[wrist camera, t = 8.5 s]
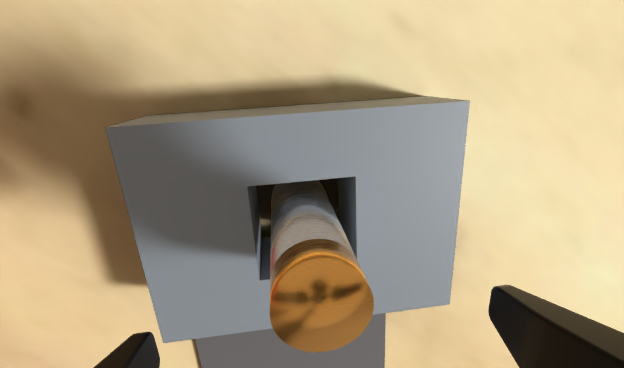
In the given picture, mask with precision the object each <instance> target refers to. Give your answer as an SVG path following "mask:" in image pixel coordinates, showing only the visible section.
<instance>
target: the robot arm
mask: <svg viewBox="0 0 624 368" xmlns="http://www.w3.org/2000/svg"><path fill="white" fill-rule="evenodd" d="M489 316H490V319H491V321H492V323H493V324H494V326H495V328H496V329H497V331H498V333H499V334H500V336H501V338H502V339H503V341H504V343H505V344H506V346H507V348H508V350H509V351H510V353H511V355H512V356H513V358H514V360H515V361H516V363H517V365H518V366H519V368H624V333H622V332H620V331H617V330H615V329H613V328H610V327H608V326H606V325H603V324H601V323H598V322H596V321H594V320H591V319H589V318H587V317H584V316H582V315H579V314H577V313H575V312H572V311H570V310H568V309H565V308H563V307H561V306H558V305H556V304H553V303H551V302H549V301H546V300H544V299H542V298H539V297H537V296H534V295H532V294H530V293H527V292H525V291H523V290H520V289H518V288H515V287H513V286H511V285H501V286H495V287H493V289H492V291H491V298H490V304H489ZM159 365H160V357H159V353H158V349H157V346H156V342H155V339H154V336H153V334H152V333H151V332H143V333H136V334H133V335H132V336H130V337H129V338H128V339H127V340H125V341H124V342H123V343H122V344H121V345H120V346H118V347H117V348H116V349H115V350H114V351H113V352H111V353H110V354H109V355H108V356H107V357H105V358H104V359H103V360H102V361H101V362H100V363H98V364H97V365H96V366H95V367H94V368H159Z"/></svg>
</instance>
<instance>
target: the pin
mask: <svg viewBox="0 0 624 368" xmlns="http://www.w3.org/2000/svg"><path fill="white" fill-rule="evenodd" d="M373 310H374V298H373V294H372V291H371V289H370V287H369V284H368V282H367V280H366V278H365V276H364V274H363V272H362V269H361V267H360V265H359V263H358V261H357V259H356V256H355V254H354V252H353V250H352V248H351V246H350V244H349V241H348V239H347V237H346V235H345V233H344V231H343V228H342V226H341V224H340V222H339V220H338V218H337V216H336V213H335V211H334V209H333V207H332V205H331V203H330V201H329V198H328V196H327V194H326V192H325V190H324V188H323V186H322V184H321V183H320V181H319V180H312V181H301V182H290V183H280V184H276V185H275V187H274V189H273V192H272V203H271V261H270V321H271V325H272V327H273V329H274V331H275V333H276V334H277V336H278V337H279V338H280V339H281V340H282V341H283V342H285V343H286V344H288V345H289V346H291V347H293V348H295V349H298V350H301V351H306V352H327V351H332V350H335V349H338V348H341V347H343V346H345V345H347V344H349V343H350V342H352V341H353V340H355V339H356V338H357V337H358V336H359V335H360V334H361V333H362V332H363V331H364V330H365V328H366V327H367V326H368V324H369V322H370V320H371V317H372V315H373Z"/></svg>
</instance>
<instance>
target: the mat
mask: <svg viewBox="0 0 624 368" xmlns="http://www.w3.org/2000/svg"><path fill="white" fill-rule="evenodd" d="M195 340H196V345H197V349H198V354H199V358H200V362H201V367H202V368H384V362H385V313H382V314H375V315H372V317H371V320H370V322H369V324H368V326H367V327H366V328H365V330H364V331H363V332H362V333H361V334H360V335H359V336H358V337H357V338H356V339H355V340H353V341H352V342H350V343H349V344H347V345H345V346H343V347H341V348H338V349H335V350H332V351H327V352H306V351H301V350H298V349H295V348H293V347H291V346H289V345H288V344H286V343H285V342H283V341H282V340H281V339H280V338H279V337H278V336H277V334H276V333H275V331H274V329H273V328H271V329H264V330H257V331H249V332H242V333H235V334H227V335H220V336H213V337H205V338H198V339H195Z"/></svg>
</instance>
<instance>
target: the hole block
mask: <svg viewBox="0 0 624 368" xmlns="http://www.w3.org/2000/svg"><path fill="white" fill-rule="evenodd" d="M469 103H470V101H467V100H457V99H448V98H438V97H428V96H419V97H405V98H391V99H376V100H362V101H348V102H334V103H320V104H306V105H291V106H277V107H263V108H249V109H235V110H221V111H206V112H192V113H178V114H164V115H150V116H144V117H140V118H137V119H133V120H130V121H126V122H123V123H119V124H115V125H112V126H108V127H105V129H106V133H107V137H108V140H109V144H110V148H111V151H112V155H113V159H114V163H115V166H116V170H117V174H118V177H119V181H120V185H121V188H122V192H123V196H124V200H125V203H126V207H127V211H128V214H129V218H130V222H131V225H132V229H133V233H134V237H135V240H136V244H137V248H138V251H139V255H140V259H141V262H142V266H143V270H144V273H145V277H146V281H147V285H148V288H149V292H150V296H151V299H152V303H153V307H154V310H155V314H156V318H157V322H158V325H159V329H160V333H161V336H162V340H163V343H168V342H176V341H183V340H190V339H198V338H205V337H213V336H220V335H227V334H235V333H242V332H249V331H257V330H264V329H271V328H273V327H272V325H271V321H270V261H271V238H262V231H261V223H260V215H259V207H258V199H257V191H256V186H258V185H269V184H280V183H290V182H301V181H312V180H323V179H333V178H338V193H339V222H340V224H341V226H342V228H343V231H344V233H345V235H346V237H347V239H348V241H349V244H350V246H351V248H352V250H353V252H354V254H355V256H356V259H357V261H358V263H359V265H360V267H361V269H362V272H363V274H364V276H365V278H366V280H367V282H368V284H369V287H370V289H371V291H372V294H373V298H374V310H373V315H375V314H382V313H389V312H397V311H404V310H411V309H419V308H426V307H434V306H441V305H448V304H450V295H451V285H452V275H453V265H454V254H455V244H456V234H457V224H458V214H459V204H460V194H461V184H462V174H463V164H464V154H465V143H466V133H467V123H468V113H469Z"/></svg>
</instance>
